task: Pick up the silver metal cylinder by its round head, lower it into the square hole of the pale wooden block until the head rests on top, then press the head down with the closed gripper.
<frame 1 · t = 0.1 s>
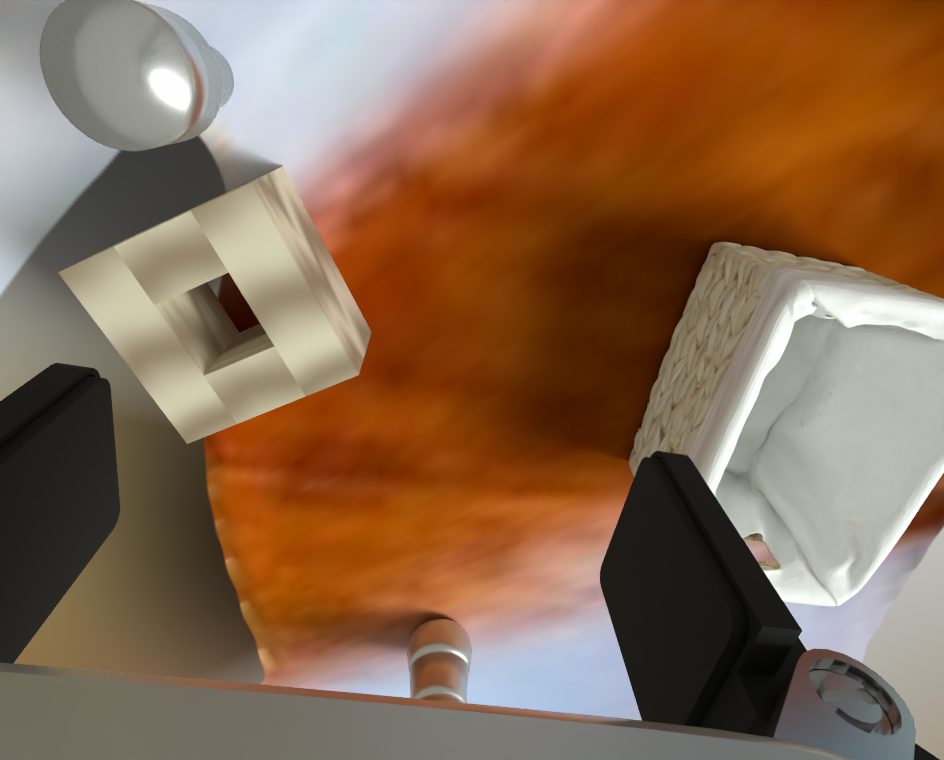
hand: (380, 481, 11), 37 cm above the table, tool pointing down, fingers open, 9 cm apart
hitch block: (250, 289, 47), on the table
silver metal cylinder: (203, 77, 41), on the table
plastic bottle: (439, 630, 65), on the table
storage basket: (733, 372, 52), on the table
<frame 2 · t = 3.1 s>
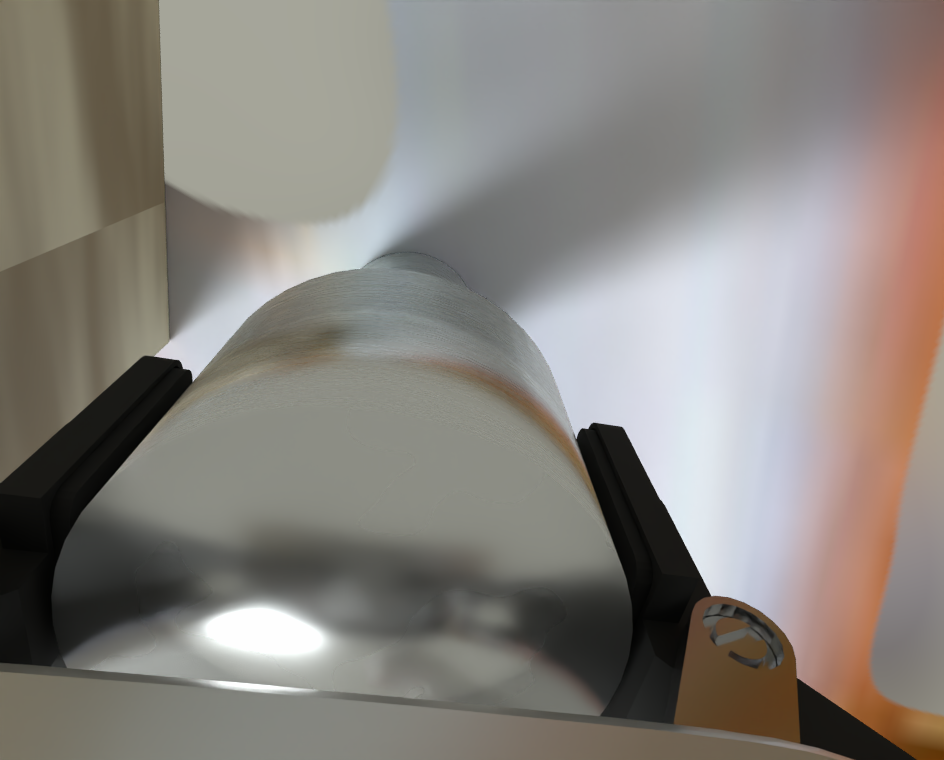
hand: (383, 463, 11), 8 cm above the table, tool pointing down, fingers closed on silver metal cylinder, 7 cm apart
silver metal cylinder: (408, 317, 18), on the table, touching gripper
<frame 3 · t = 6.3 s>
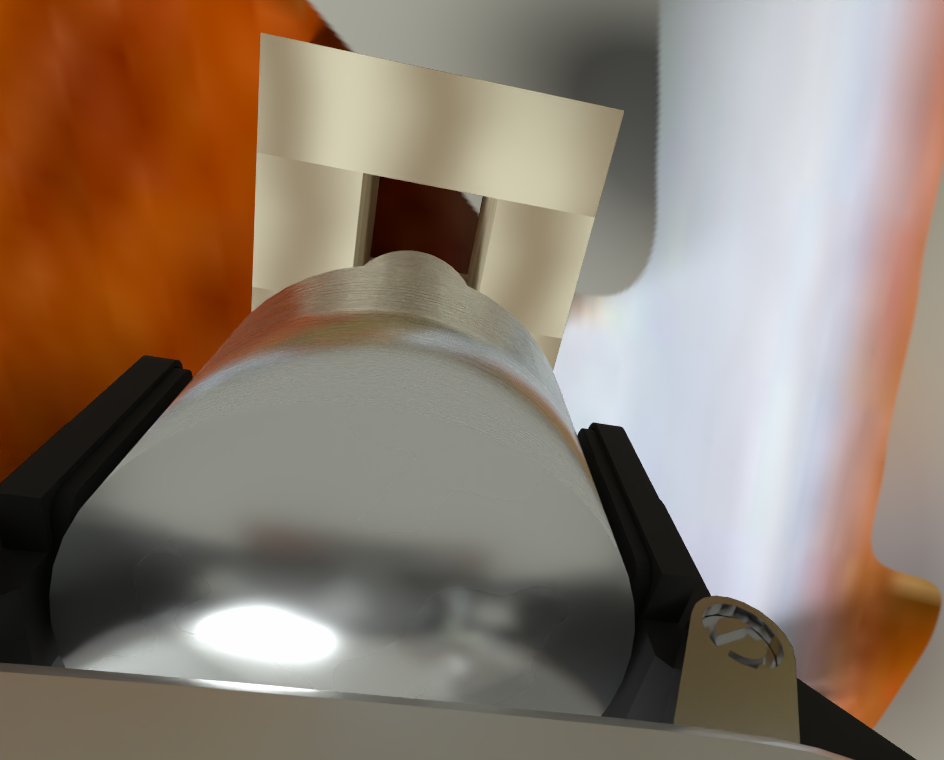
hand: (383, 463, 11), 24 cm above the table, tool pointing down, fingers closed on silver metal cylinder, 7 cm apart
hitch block: (427, 216, 33), on the table
silver metal cylinder: (409, 316, 18), point 16 cm above the table, touching gripper
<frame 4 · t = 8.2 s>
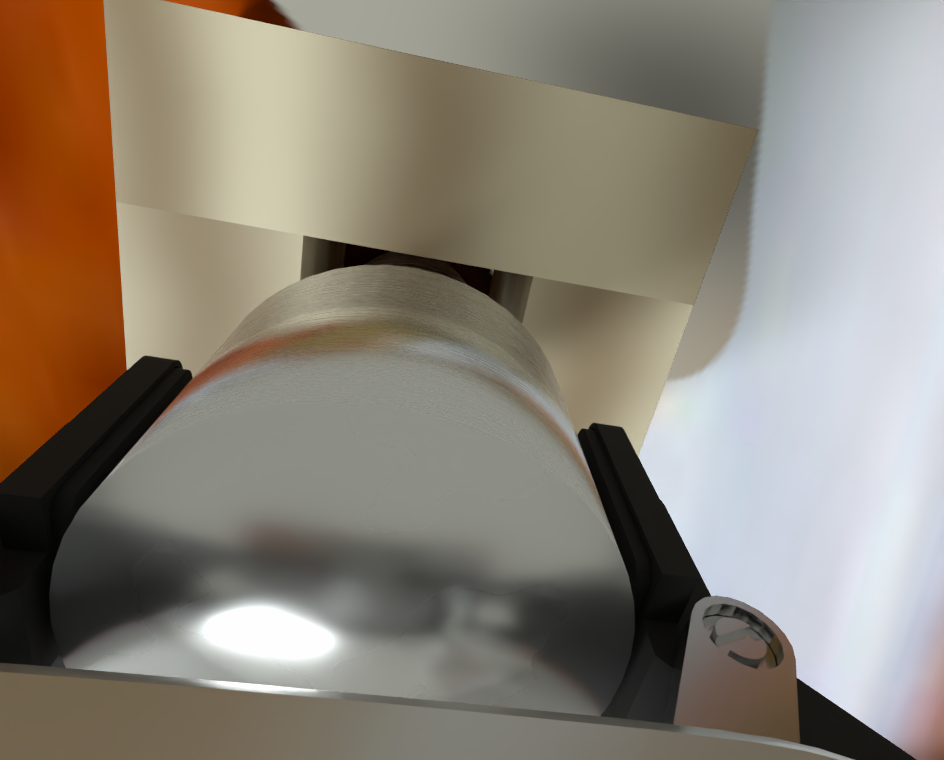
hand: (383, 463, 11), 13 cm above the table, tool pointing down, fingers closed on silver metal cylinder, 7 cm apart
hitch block: (418, 274, 23), on the table
silver metal cylinder: (409, 315, 18), point 5 cm above the table, touching gripper
when the fingers open (9 cm above the table, at t = 9.6 s): silver metal cylinder stays where it is, resting on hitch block.
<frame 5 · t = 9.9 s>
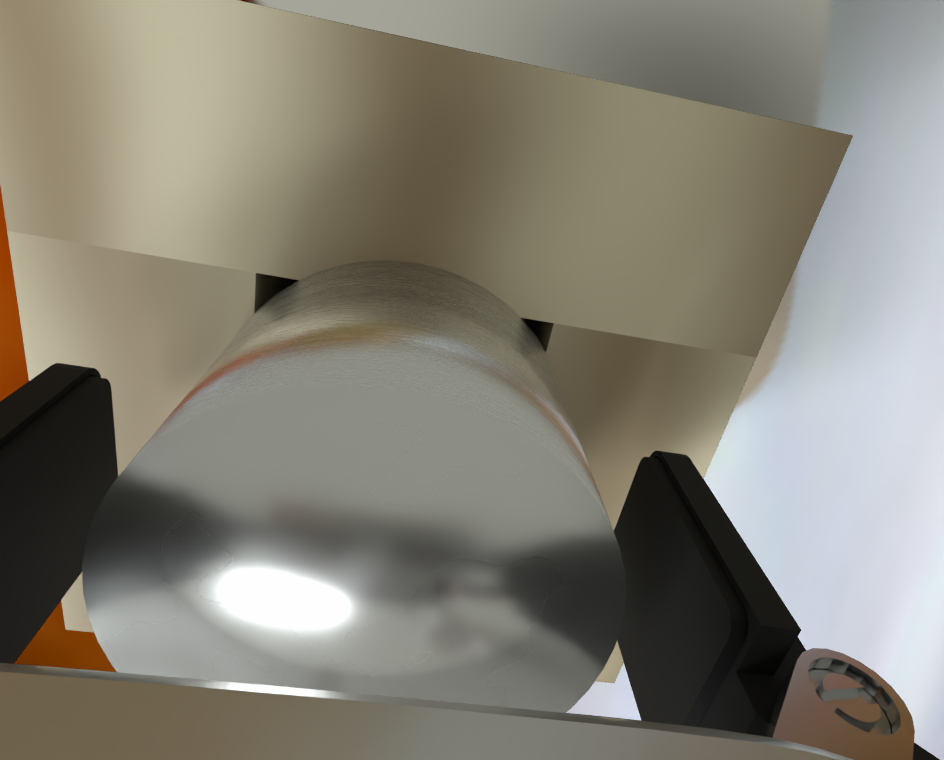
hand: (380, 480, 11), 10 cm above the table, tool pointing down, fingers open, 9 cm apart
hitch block: (410, 300, 20), on the table
silver metal cylinder: (410, 311, 19), point 1 cm above the table, touching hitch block
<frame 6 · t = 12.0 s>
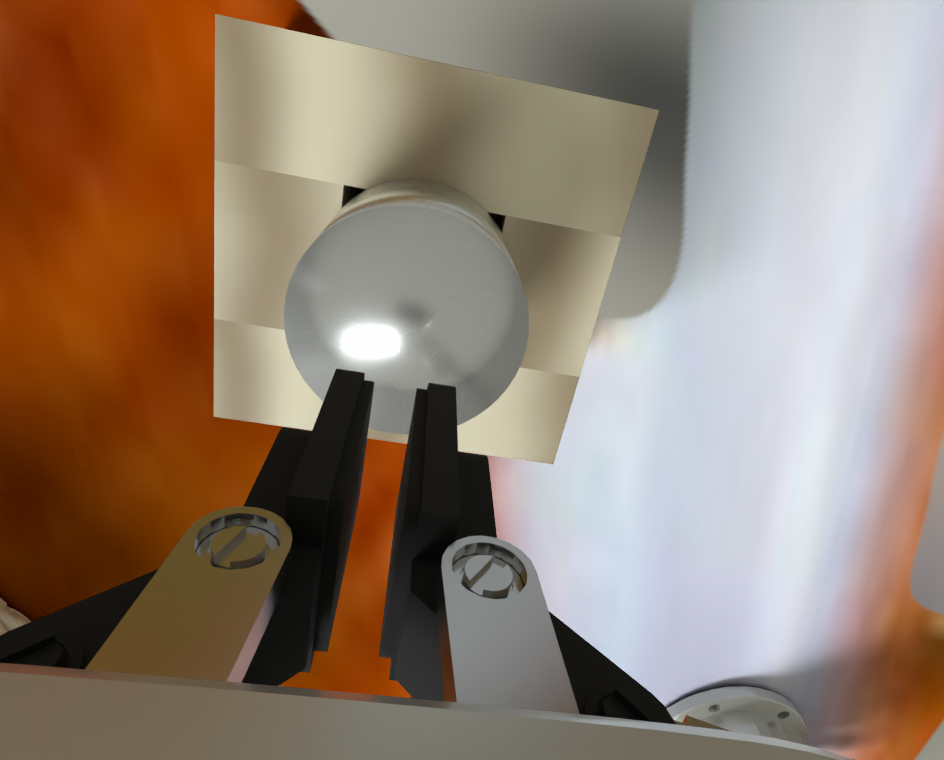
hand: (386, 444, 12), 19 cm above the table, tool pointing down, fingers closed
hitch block: (422, 230, 29), on the table
silver metal cylinder: (422, 235, 28), point 1 cm above the table, touching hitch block
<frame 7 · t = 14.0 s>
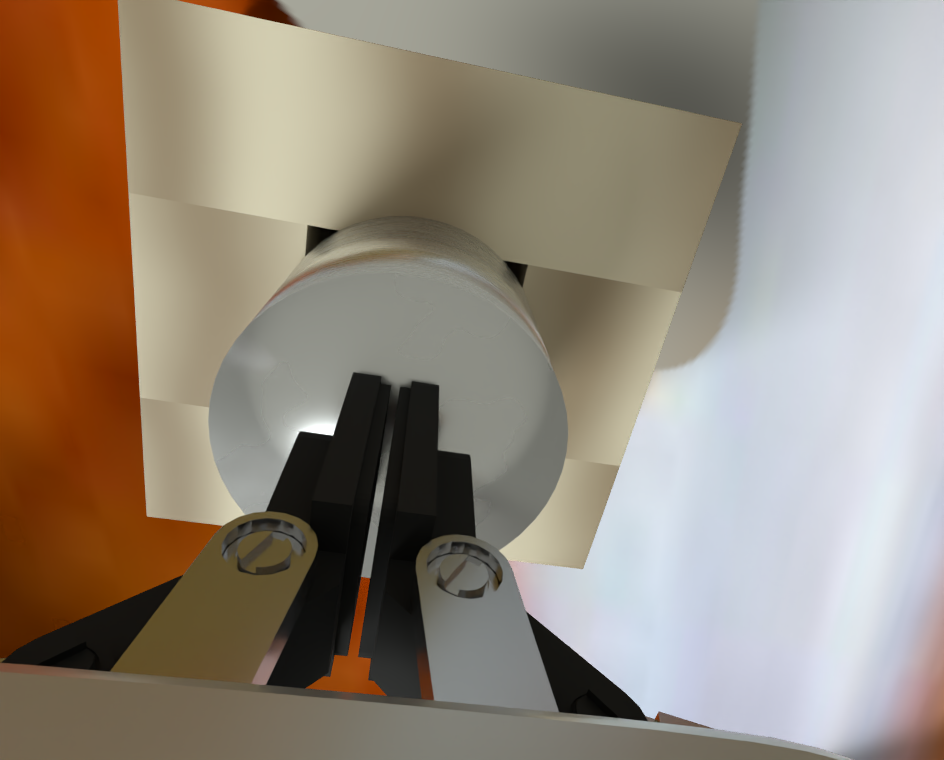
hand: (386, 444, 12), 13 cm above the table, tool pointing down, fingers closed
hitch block: (417, 266, 23), on the table
silver metal cylinder: (418, 273, 23), point 1 cm above the table, touching gripper, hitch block
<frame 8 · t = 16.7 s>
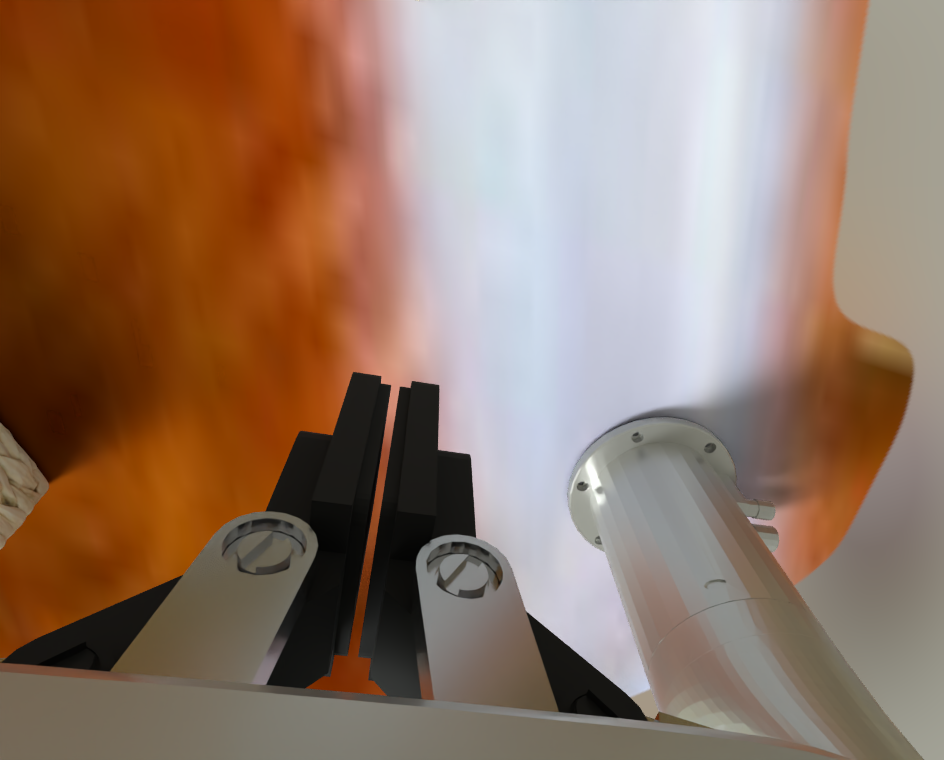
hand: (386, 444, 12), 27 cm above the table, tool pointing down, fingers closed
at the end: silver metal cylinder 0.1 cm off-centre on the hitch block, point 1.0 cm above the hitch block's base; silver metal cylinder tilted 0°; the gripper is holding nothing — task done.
